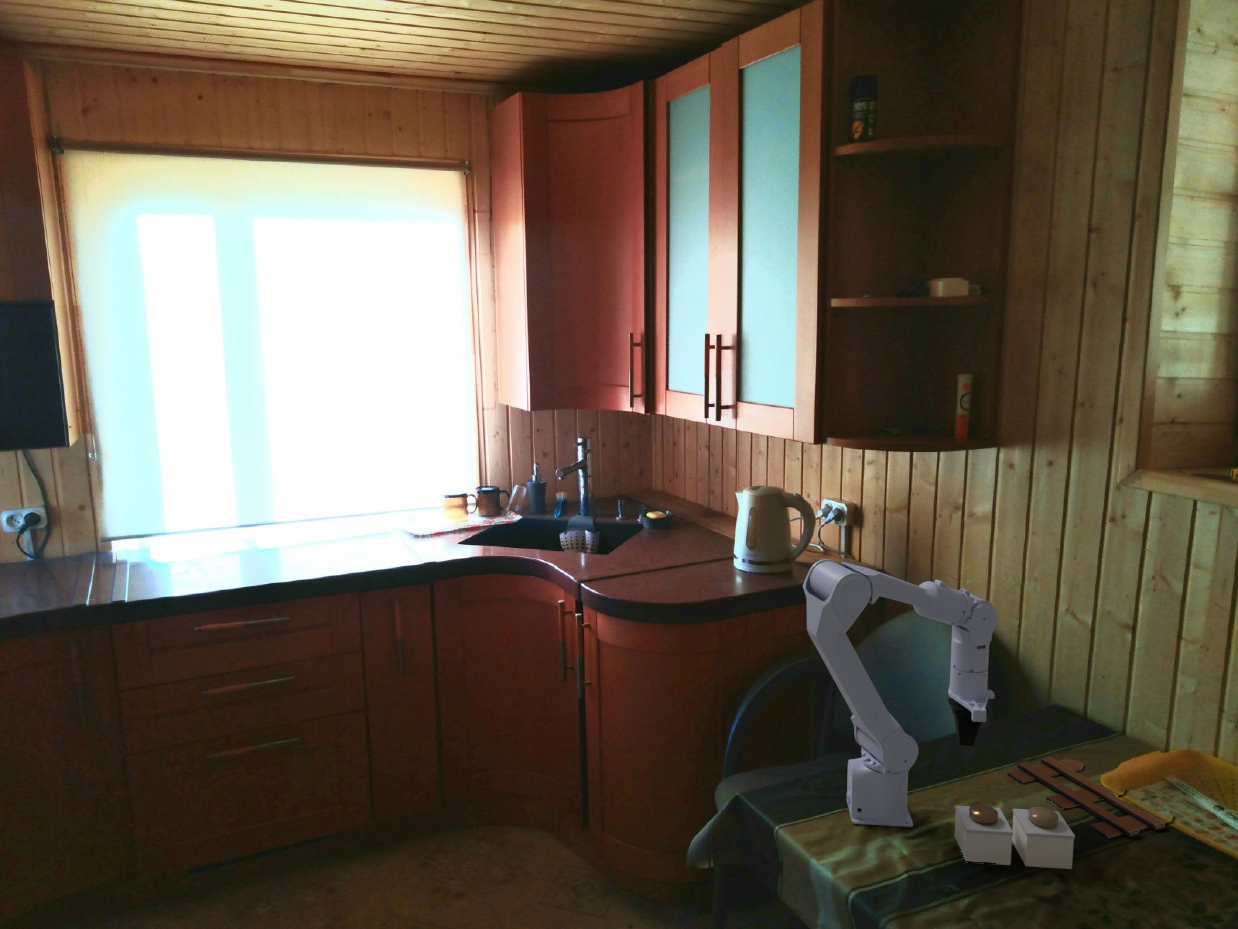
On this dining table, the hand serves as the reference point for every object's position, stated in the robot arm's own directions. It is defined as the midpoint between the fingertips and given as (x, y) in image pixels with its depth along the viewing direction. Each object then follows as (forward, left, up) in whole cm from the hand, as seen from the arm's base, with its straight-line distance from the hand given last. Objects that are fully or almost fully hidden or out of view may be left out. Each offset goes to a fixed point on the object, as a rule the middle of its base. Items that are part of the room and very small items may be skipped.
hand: (966, 743), depth 142 cm
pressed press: (+7, -15, -10) cm, 19 cm away
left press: (-1, -15, -10) cm, 18 cm away
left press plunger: (-1, -15, -9) cm, 18 cm away
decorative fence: (+21, +3, -11) cm, 24 cm away
